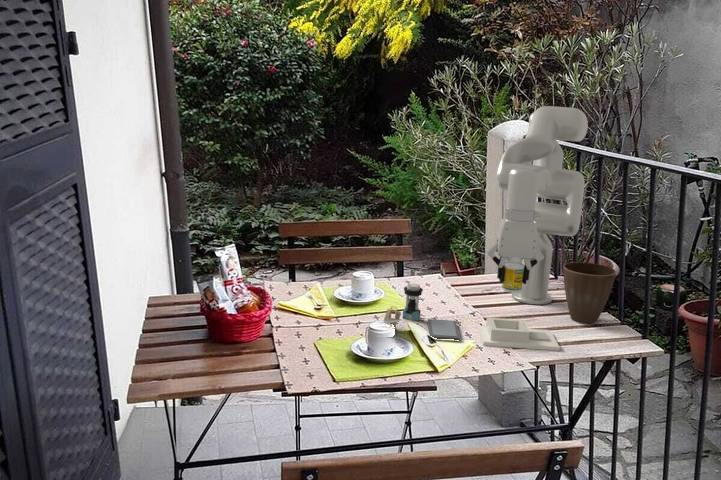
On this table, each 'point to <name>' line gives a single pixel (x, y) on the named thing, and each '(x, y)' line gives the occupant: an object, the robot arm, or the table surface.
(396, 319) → the platform
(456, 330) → the phone
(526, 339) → the organizer tray
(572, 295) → the plant pot
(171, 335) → the table surface
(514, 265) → the supplement bottle
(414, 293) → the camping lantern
